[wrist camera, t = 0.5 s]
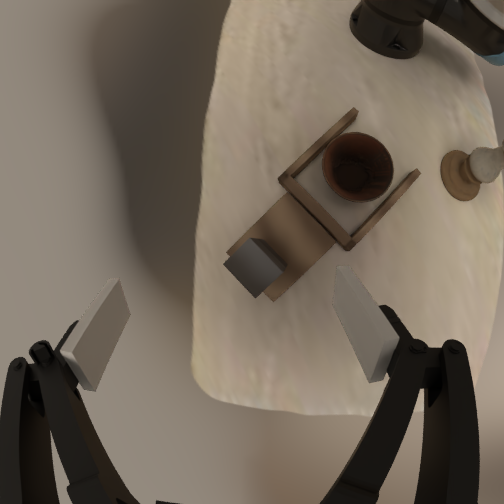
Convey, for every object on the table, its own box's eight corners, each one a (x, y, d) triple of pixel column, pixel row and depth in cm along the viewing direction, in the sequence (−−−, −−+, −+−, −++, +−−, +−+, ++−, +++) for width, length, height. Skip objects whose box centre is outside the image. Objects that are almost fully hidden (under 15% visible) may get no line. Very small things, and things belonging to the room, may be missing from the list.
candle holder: (482, 173, 34) (555, 142, 14) (468, 211, 35) (549, 195, 15) (449, 141, 35) (514, 93, 15) (433, 179, 36) (507, 141, 16)
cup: (298, 187, 39) (308, 163, 29) (335, 148, 39) (352, 117, 29) (343, 228, 39) (367, 216, 29) (377, 186, 39) (405, 165, 29)
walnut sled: (350, 115, 38) (364, 74, 26) (413, 177, 36) (449, 155, 24) (219, 242, 42) (187, 242, 30) (283, 310, 41) (275, 336, 29)
